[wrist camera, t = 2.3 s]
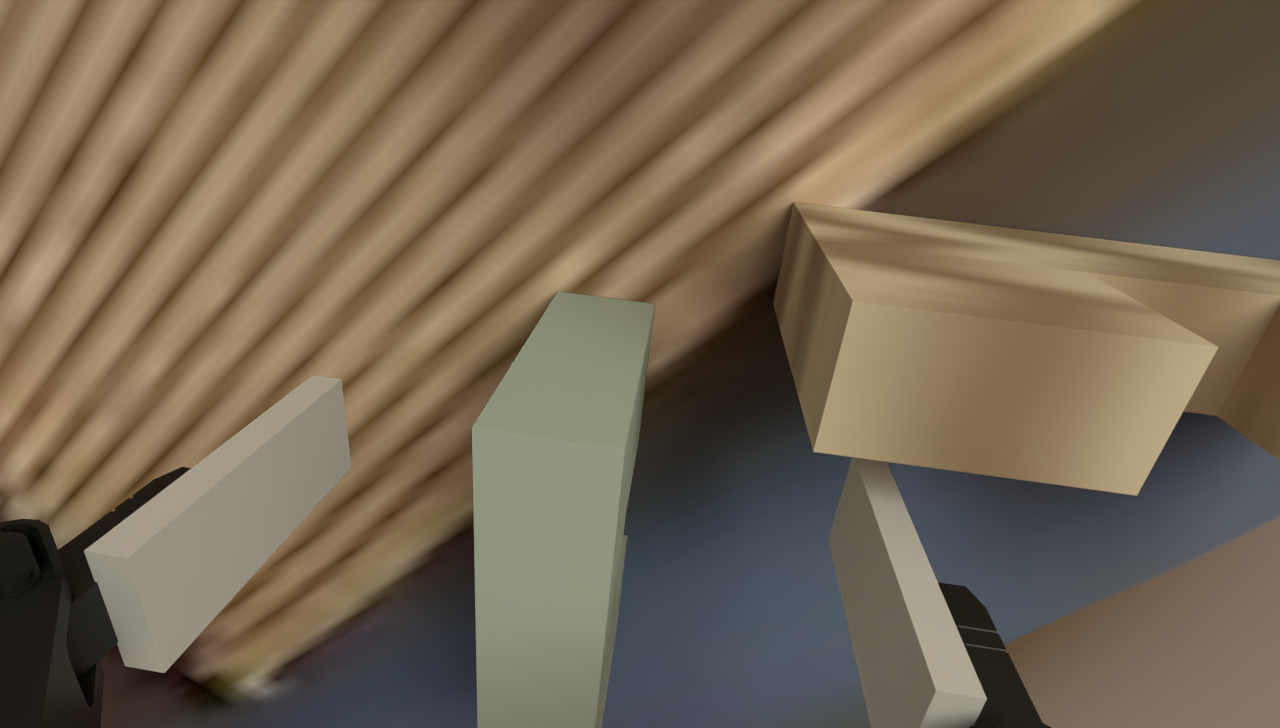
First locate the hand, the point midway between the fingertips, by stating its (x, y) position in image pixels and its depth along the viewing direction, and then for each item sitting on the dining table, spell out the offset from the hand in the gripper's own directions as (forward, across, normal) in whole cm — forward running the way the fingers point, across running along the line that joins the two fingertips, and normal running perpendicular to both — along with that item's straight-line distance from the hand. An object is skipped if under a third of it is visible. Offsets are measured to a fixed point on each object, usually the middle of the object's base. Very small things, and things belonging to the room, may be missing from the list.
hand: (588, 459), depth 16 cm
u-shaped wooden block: (+5, +12, +5) cm, 14 cm away
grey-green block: (+5, 0, -4) cm, 6 cm away
